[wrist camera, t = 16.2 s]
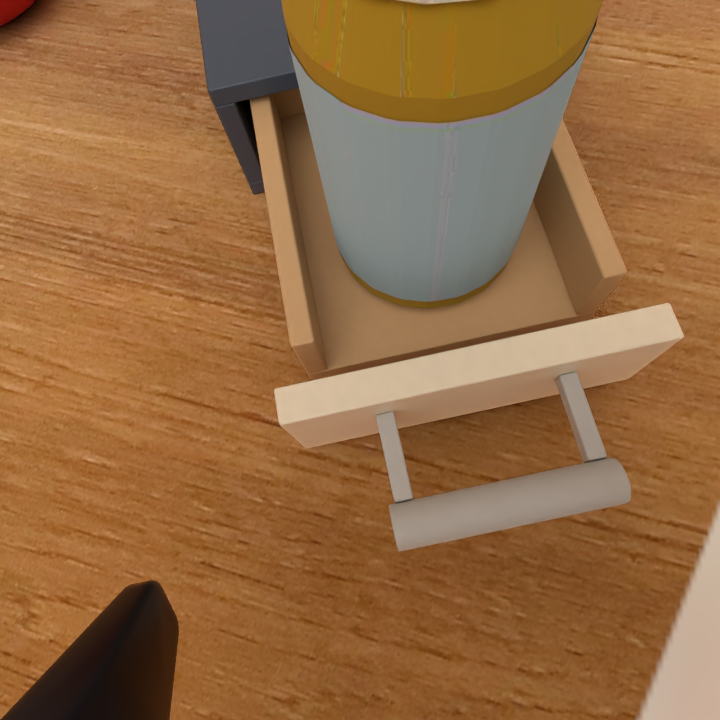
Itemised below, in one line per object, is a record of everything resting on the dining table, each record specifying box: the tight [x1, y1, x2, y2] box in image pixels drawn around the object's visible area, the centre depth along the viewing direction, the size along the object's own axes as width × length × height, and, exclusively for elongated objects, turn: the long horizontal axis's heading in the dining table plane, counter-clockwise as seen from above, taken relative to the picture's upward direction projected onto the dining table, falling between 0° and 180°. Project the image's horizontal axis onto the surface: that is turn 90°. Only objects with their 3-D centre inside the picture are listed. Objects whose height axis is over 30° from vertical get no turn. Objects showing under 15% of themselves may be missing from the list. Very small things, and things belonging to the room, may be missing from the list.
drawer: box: [250, 88, 684, 552], centre depth 20 cm, size 20×12×4 cm, turn 11°
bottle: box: [281, 0, 603, 308], centre depth 14 cm, size 7×7×15 cm
